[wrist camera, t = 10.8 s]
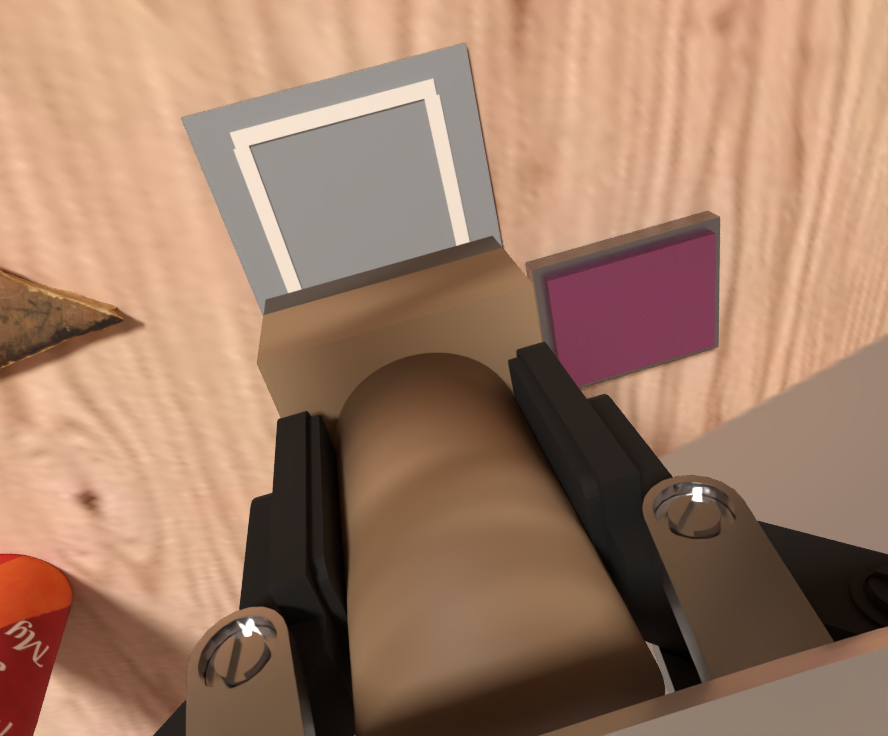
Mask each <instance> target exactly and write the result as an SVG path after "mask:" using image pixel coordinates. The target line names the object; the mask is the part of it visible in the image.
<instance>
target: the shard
mask: <svg viewBox="0 0 888 736" xmlns="http://www.w3.org/2000/svg"><path fill="white" fill-rule="evenodd" d="M116 308H117V307H116V306H113V305H110V304H107V303H102V302H99V301H96V300H94V299H90V298H87V297H85V296H83V295H79V294H75V293H72V292H69V291H65V290H61V289H56V288H51V287H49V286H46V285H41V284H37V283H34V282H31V281H29V280H25V279H22V278H20V277H17V276H15V275H13V274H10V273H4V272H3V271H1V270H0V369H1V368H4V367H6V366H9V365H11V364H13V363H15V362H20V361H22V360H24V359H26V358H29V357H32V356H35V355H37V354H39V353H42V352H45V351H47V350H48V349H50V348H53V347H55V346H57V345H60V344H61V343H63V342H64V341H66V340H69V339H72V338H74V337H77V336H80V335H83V334H86V333H88V332H96V331H101V330H104V329H105V328H108V327H110V326H112V325H114V324H117V323H120V322H122V321H124V319H123V318H122V317H120V316H119V315H118V314H117V313H116V312H115V309H116Z"/></svg>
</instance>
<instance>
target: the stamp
mask: <svg viewBox="0 0 888 736" xmlns="http://www.w3.org/2000/svg"><path fill="white" fill-rule="evenodd" d="M541 342H542V340H541V334H540V327H539V321H538V315H537V308H536V302H535V296H534V289H533V284H532V283H531V282H530V280H529V279H528V278H527V277H526V275H525V274H524V273H523V272H522V271H521V269H520V268H519V267H518V266H517V265H516V263H515V262H514V261H513V260H512V258H511V257H510V256H509V255H508V254H507V252H506V251H505V250H504V249H503V248H502V246H501V245H500V244H499V243H498V242H497V240H496V239H495V238H494V237H493V236H489V237H486V238H482V239H479V240H475V241H472V242H468V243H465V244H461V245H458V246H454V247H450V248H447V249H443V250H440V251H436V252H433V253H429V254H426V255H422V256H418V257H415V258H411V259H408V260H404V261H401V262H397V263H394V264H390V265H386V266H383V267H379V268H376V269H372V270H369V271H365V272H362V273H358V274H355V275H351V276H347V277H344V278H340V279H337V280H333V281H330V282H326V283H323V284H319V285H315V286H312V287H308V288H305V289H301V290H298V291H294V292H291V293H287V294H283V295H280V296H276V297H273V298H269V299H266V300H265V307H264V315H263V322H262V329H261V336H260V344H259V351H258V358H257V365H258V367H259V369H260V372H261V374H262V376H263V378H264V381H265V383H266V385H267V388H268V390H269V392H270V394H271V397H272V399H273V401H274V403H275V406H276V408H277V410H278V412H279V415H280V417H281V418H284V417H287V416H290V415H294V414H297V413H301V412H304V411H308V412H309V414H310V415H311V417H314V416H318V415H321V417H322V418H323V421H324V423H325V425H326V428H327V431H328V433H329V436H330V438H331V441H332V443H333V446H334V448H335V451H336V459H337V474H338V488H339V503H340V517H341V532H342V546H343V561H344V575H345V590H346V604H347V620H348V634H349V649H350V663H351V678H352V693H353V707H354V722H355V736H540V735H543V734H546V733H549V732H552V731H555V730H558V729H561V728H564V727H567V726H570V725H574V724H577V723H580V722H583V721H586V720H589V719H592V718H595V717H598V716H601V715H604V714H607V713H611V712H614V711H617V710H620V709H623V708H626V707H629V706H632V705H635V704H639V703H642V702H645V701H648V700H651V699H654V698H657V697H661V696H664V695H665V685H664V679H663V676H662V673H661V671H660V669H659V667H658V664H657V663H656V661H655V659H654V657H653V655H652V653H651V651H650V650H649V648H648V646H647V644H646V642H645V640H644V638H643V637H642V635H641V633H640V631H639V629H638V627H637V625H636V624H635V622H634V620H633V618H632V616H631V614H630V612H629V610H628V609H627V607H626V605H625V603H624V601H623V599H622V597H621V596H620V594H619V592H618V590H617V588H616V586H615V584H614V583H613V581H612V579H611V577H610V575H609V573H608V571H607V569H606V568H605V566H604V564H603V562H602V560H601V558H600V556H599V555H598V553H597V551H596V549H595V547H594V545H593V543H592V542H591V540H590V538H589V536H588V534H587V532H586V531H585V529H584V527H583V525H582V523H581V521H580V519H579V517H578V516H577V514H576V512H575V510H574V508H573V506H572V504H571V503H570V501H569V499H568V497H567V495H566V493H565V491H564V490H563V488H562V486H561V484H560V482H559V480H558V478H557V476H556V475H555V473H554V471H553V469H552V467H551V465H550V463H549V462H548V460H547V458H546V456H545V454H544V452H543V450H542V449H541V447H540V445H539V443H538V441H537V439H536V437H535V435H534V434H533V432H532V430H531V428H530V426H529V424H528V422H527V421H526V419H525V417H524V415H523V413H522V411H521V409H520V408H519V406H518V404H517V402H516V400H515V397H514V392H513V387H512V382H511V377H510V372H509V366H508V360H509V359H513V358H516V350H517V349H520V348H523V347H527V346H530V345H534V344H537V343H541Z"/></svg>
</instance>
